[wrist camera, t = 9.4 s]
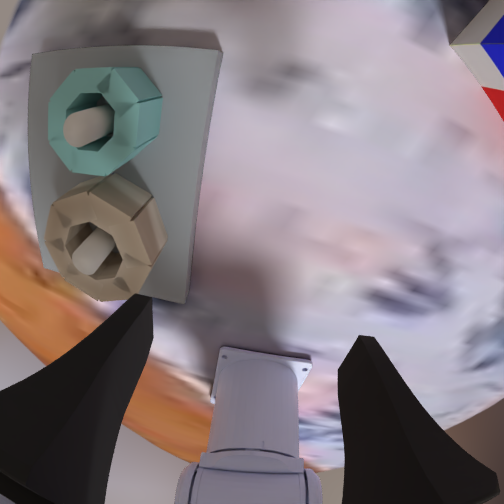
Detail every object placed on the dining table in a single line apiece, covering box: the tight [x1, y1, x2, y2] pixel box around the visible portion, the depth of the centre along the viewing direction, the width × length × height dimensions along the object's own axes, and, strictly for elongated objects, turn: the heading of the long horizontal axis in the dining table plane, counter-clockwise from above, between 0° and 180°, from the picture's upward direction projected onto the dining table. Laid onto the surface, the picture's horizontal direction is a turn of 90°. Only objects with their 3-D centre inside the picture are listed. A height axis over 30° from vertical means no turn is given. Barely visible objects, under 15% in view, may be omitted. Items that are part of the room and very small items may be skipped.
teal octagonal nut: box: [48, 67, 163, 176], centre depth 13 cm, size 5×5×3 cm
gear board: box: [28, 45, 223, 304], centre depth 15 cm, size 16×12×6 cm
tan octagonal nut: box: [44, 172, 168, 302], centre depth 17 cm, size 7×7×3 cm
